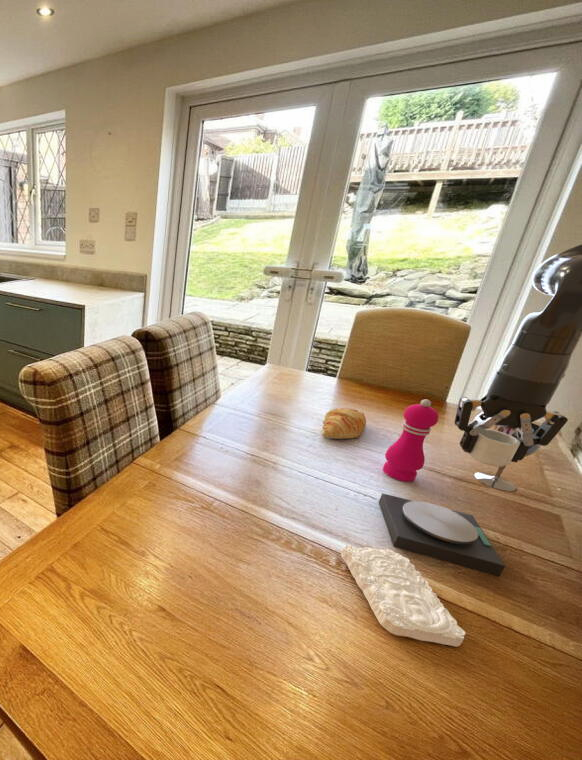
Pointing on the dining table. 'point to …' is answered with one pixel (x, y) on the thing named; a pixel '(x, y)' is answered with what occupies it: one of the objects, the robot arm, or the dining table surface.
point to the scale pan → (440, 522)
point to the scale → (439, 540)
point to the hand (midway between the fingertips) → (487, 454)
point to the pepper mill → (410, 442)
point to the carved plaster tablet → (401, 596)
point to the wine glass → (495, 479)
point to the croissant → (343, 423)
